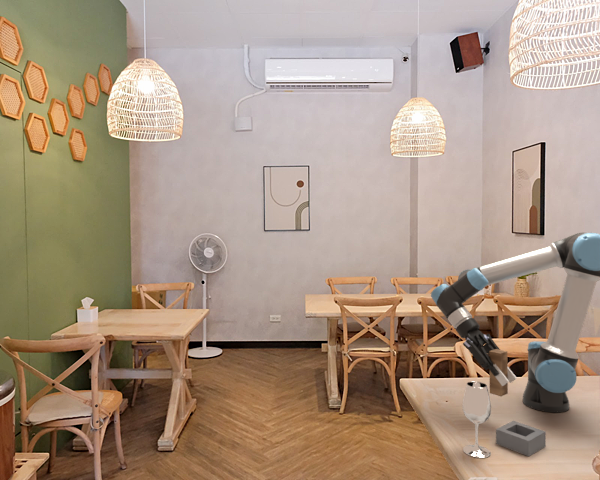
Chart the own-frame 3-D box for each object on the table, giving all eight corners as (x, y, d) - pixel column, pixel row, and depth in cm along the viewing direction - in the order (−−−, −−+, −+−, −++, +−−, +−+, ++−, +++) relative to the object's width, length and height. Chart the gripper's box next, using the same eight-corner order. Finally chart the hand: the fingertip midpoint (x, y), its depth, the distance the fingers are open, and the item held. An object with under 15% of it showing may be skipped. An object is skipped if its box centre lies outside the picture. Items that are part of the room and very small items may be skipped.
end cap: (513, 434, 147) (513, 420, 147) (545, 446, 139) (545, 431, 139) (496, 443, 141) (496, 429, 141) (528, 456, 133) (528, 441, 133)
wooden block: (496, 390, 156) (495, 348, 156) (507, 393, 153) (507, 351, 152) (489, 393, 154) (489, 351, 153) (501, 396, 150) (500, 353, 150)
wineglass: (458, 446, 140) (458, 380, 139) (483, 444, 141) (483, 379, 140) (469, 459, 132) (469, 389, 132) (496, 457, 133) (496, 388, 132)
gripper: (471, 326, 170) (515, 382, 157) (442, 333, 160) (487, 394, 147) (484, 313, 166) (531, 370, 153) (455, 320, 156) (503, 381, 143)
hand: (509, 382), depth 150 cm, fingers closed on wooden block, 4 cm apart
